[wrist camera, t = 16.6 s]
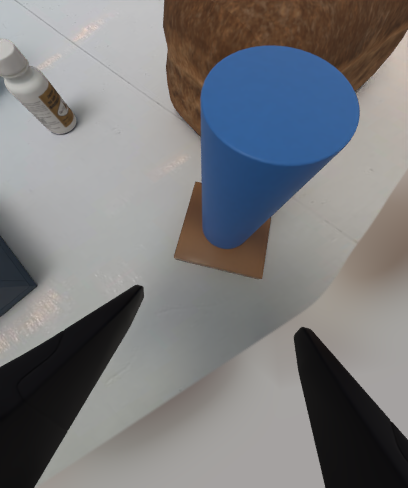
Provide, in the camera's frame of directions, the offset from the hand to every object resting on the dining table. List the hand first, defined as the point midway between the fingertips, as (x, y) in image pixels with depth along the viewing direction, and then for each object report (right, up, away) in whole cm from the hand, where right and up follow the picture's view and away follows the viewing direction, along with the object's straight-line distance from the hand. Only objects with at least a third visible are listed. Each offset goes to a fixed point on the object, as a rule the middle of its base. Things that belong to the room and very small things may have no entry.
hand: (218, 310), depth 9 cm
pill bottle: (-22, +22, +15) cm, 35 cm away
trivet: (+2, +5, +11) cm, 12 cm away
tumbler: (+2, +6, +9) cm, 11 cm away
